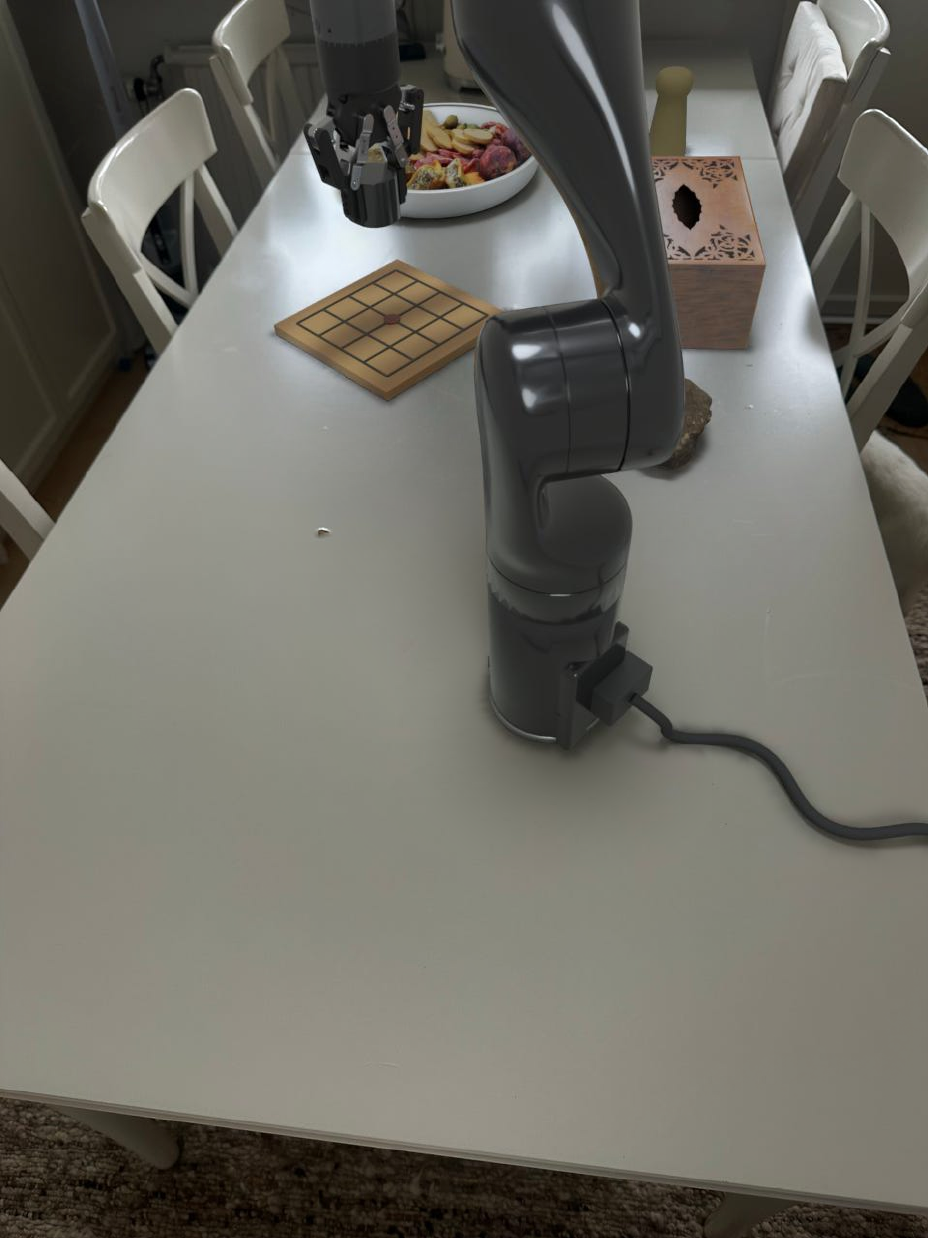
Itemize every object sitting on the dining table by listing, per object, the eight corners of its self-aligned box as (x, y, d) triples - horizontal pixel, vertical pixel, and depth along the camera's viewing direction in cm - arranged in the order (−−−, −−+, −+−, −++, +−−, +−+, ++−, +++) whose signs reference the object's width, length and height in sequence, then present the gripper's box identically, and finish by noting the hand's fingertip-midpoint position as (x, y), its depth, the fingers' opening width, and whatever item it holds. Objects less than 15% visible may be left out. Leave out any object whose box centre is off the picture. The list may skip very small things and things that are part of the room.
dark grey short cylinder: (410, 215, 91) (406, 171, 88) (375, 233, 89) (370, 189, 86) (379, 201, 94) (374, 157, 90) (344, 218, 92) (337, 174, 88)
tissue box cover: (613, 235, 115) (620, 156, 107) (724, 235, 113) (739, 155, 106) (616, 347, 98) (625, 263, 91) (746, 349, 97) (766, 264, 89)
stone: (675, 488, 84) (692, 440, 79) (546, 436, 87) (555, 387, 83) (710, 434, 90) (727, 387, 85) (588, 387, 93) (598, 339, 89)
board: (511, 323, 102) (511, 313, 101) (387, 401, 94) (385, 390, 93) (398, 267, 112) (397, 257, 111) (275, 333, 103) (273, 323, 102)
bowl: (312, 223, 120) (301, 165, 114) (365, 133, 139) (358, 78, 133) (525, 234, 116) (526, 173, 110) (551, 139, 134) (553, 83, 128)
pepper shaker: (637, 148, 131) (645, 66, 122) (671, 139, 132) (682, 57, 124) (659, 163, 127) (669, 80, 119) (693, 154, 129) (706, 71, 120)
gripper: (319, 57, 73) (349, 250, 86) (440, 11, 79) (450, 197, 92) (266, 38, 77) (302, 226, 90) (385, -5, 83) (403, 177, 96)
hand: (377, 210), depth 91 cm, fingers closed on dark grey short cylinder, 5 cm apart
